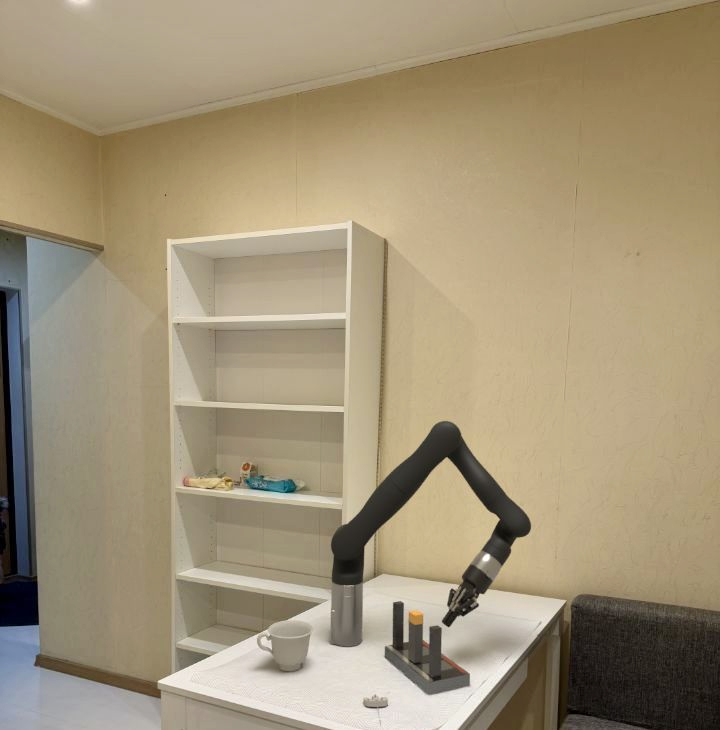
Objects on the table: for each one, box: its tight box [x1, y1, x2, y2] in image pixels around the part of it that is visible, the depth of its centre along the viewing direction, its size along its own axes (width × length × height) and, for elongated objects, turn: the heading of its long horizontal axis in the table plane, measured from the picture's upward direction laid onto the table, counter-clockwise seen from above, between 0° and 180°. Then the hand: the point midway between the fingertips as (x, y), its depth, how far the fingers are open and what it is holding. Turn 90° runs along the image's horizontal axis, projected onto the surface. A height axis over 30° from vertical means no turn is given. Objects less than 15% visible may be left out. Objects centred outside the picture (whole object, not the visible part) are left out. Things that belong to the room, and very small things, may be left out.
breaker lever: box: [407, 609, 424, 663], centre depth 164 cm, size 2×3×12 cm
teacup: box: [256, 619, 314, 672], centre depth 166 cm, size 12×15×10 cm
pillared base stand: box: [384, 600, 471, 696], centre depth 165 cm, size 12×23×15 cm, turn 25°
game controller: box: [362, 694, 389, 725], centre depth 145 cm, size 6×12×3 cm, turn 22°
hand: (445, 624), depth 168 cm, fingers closed
